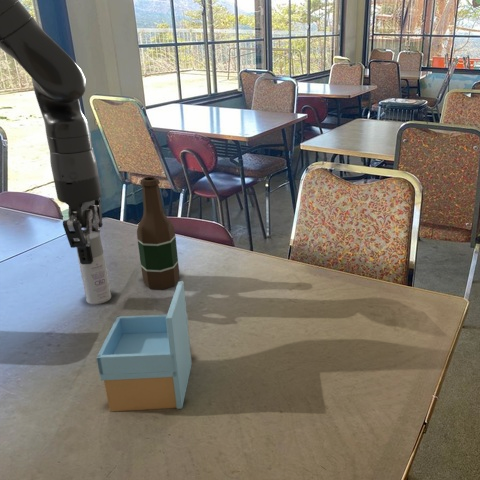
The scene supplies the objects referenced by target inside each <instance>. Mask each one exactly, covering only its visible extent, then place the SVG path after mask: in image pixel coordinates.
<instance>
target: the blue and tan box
mask: <svg viewBox="0 0 480 480" xmlns="http://www.w3.org/2000/svg"><path fill="white" fill-rule="evenodd" d="M186 302H187V301H186V293H185V283H184V281H183V280H181V281H180V280H178V282H177V283H176V287H175V291H174V293H173V296H172V299H171V302H170V305H169V308H168V311H167V314H148V315H147V314H146V315H121V316H120V315H119V316H117V317H116V318H115V320H114V322H113V324H112V326H111V328H110V330H109V332H108V333H107V336H106V338H105V340H104V342H103V343H102V345H101V347H100V350H99V352H98V354H97V356H96V358H95V359H96V363H97V369H98V373H99V378H100V381H103V383H104V388H105V393H106V398H107V403H108V408H109V412H128V411H144V410H160V409H161V410H162V409H176V410H182V409H183V407H184V402H185V397H186V393H187V389H188V383H189V380H190V374H191V370H192V363H193V362H192V353H191V343H190V342H191V341H190V335H189V323H188V314H187V303H186Z"/></svg>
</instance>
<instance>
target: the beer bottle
mask: <svg viewBox="0 0 480 480" xmlns="http://www.w3.org/2000/svg"><path fill="white" fill-rule="evenodd" d="M160 182H161V181H160V179H159V178H157V177H155V176H146V177H143V178H141V179H140V182H139V184H140V185H141V189H142V190H141V191H142V206H143V207H142V208H143V212H142V217H141V219H140V221H139V223H138V226H137V230H136V239H137V246H138V254H139V261H140V269H141V274H142V275H141V276H142V280H143V284H144V285H145V286H146V287H147V288H148V289H149V290H157V291H158V290H160V291H163V290H167V289H170V288H173V287H175V286H176V285H177V284H178V281H180V266H179V257H178V246H177V238H176V237H177V236H176V231H175V227H174V225H173V223H172V221H171V220H170V219H169V217H168V216H167V215H166V213H165V210H164V207H163V203H162V196H161V192H160V186H159V184H161V183H160Z"/></svg>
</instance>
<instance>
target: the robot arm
mask: <svg viewBox="0 0 480 480" xmlns="http://www.w3.org/2000/svg"><path fill="white" fill-rule="evenodd" d="M0 50H2V51H3V52H4V53H5V54H7V55H8V56H10V57H11V58H12V59H13V60H15V61H16V62H17V63H18V64H19V65H20V66H21V68H22V69H23V70H24V71H25V72H26V73H27V74H28V75H29V76H30V77H31V81H32V83H31V84H32V87H33V91H34V95H35V98H36V101H37V104H38V107H39V110H40V114H41V115H42V118H43V123H44V127H45V136H46V140H47V146H48V150H49V160H50V161H49V162H50V168H51V172H52V177H53V183H54V187H55V192H56V199H57V200H58V201H59V202H60V203H63V204H66V205H68V213H67V215H68V216H67V217H68V220H67V219H64V220H63V221H62V227H63V229H64V233H65V236H66V238H67V241H68V243H69V246H70V248H71V249H73V248H76V247H77V248H76V250H77V249H78V254H79V259H80V263H81V264H91V263H92V262H93V257H92V251H91V246H90V234H91V233H92V231H96V232H99V233H101V228H103V224H104V223H103V213H102V200H101V197H102V195H103V192H102V186H101V185H102V184H101V179H100V173H99V168H98V162H97V159H96V155H95V152H94V146H93V139H92V134H91V130H90V125H89V123H88V120H87V119H86V117H85V115H84V114H83V111H82V108H81V103H80V99H81V98H82V97H83V96H84V95H85V92H86V90H87V81H86V77H85V74H84V73H83V70H82V69H81V68H80V67H79V65H78V64H77V63H76V62H75V60H74V59H73V58H72V57H71V56H70V55H69V54H68V53H67V52H66V51H65V50H64V49H63V48H62V47H61V46H60V45H59V44H58V43H57V42H56V41H55V40H53V38H52V37H50V36H49V35H48V34H47V33H46V31H44V30H43V28H42V27H41V26H40V24H39V23H38V22H37V21H36V19H35V17H33V16H32V15H31V13H30V12H29V11H28V10H27V8H26V7H25V6H24V5H23V4H22V3H21V1H20V0H0ZM84 235H85V238H84ZM78 254H77V255H78Z"/></svg>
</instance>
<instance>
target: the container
mask: <svg viewBox="0 0 480 480" xmlns="http://www.w3.org/2000/svg"><path fill="white" fill-rule="evenodd" d="M100 233H101V232H100ZM100 233H99V232H96V231H92V233H91V234H90V246H91V251H92V257H93V262H92V263H91V264H81V263H80V259H79V254H78V249H77V247H75V249H76V254H77V260H78V265H79V269H80V275H81V280H82V285H83V290H84V295H85V300H86V303H88V304H90V305H98V304H99V305H100V304H103V303H106V302H108V301H110V299H111V298H112V294H111V293H112V292H111V288H110V287H111V286H110V282H109V281H110V280H109V276H108V270H107V263H106V257H105V253H104V247H103V242H102V238H101V234H100ZM84 238H85V235H84Z"/></svg>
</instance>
